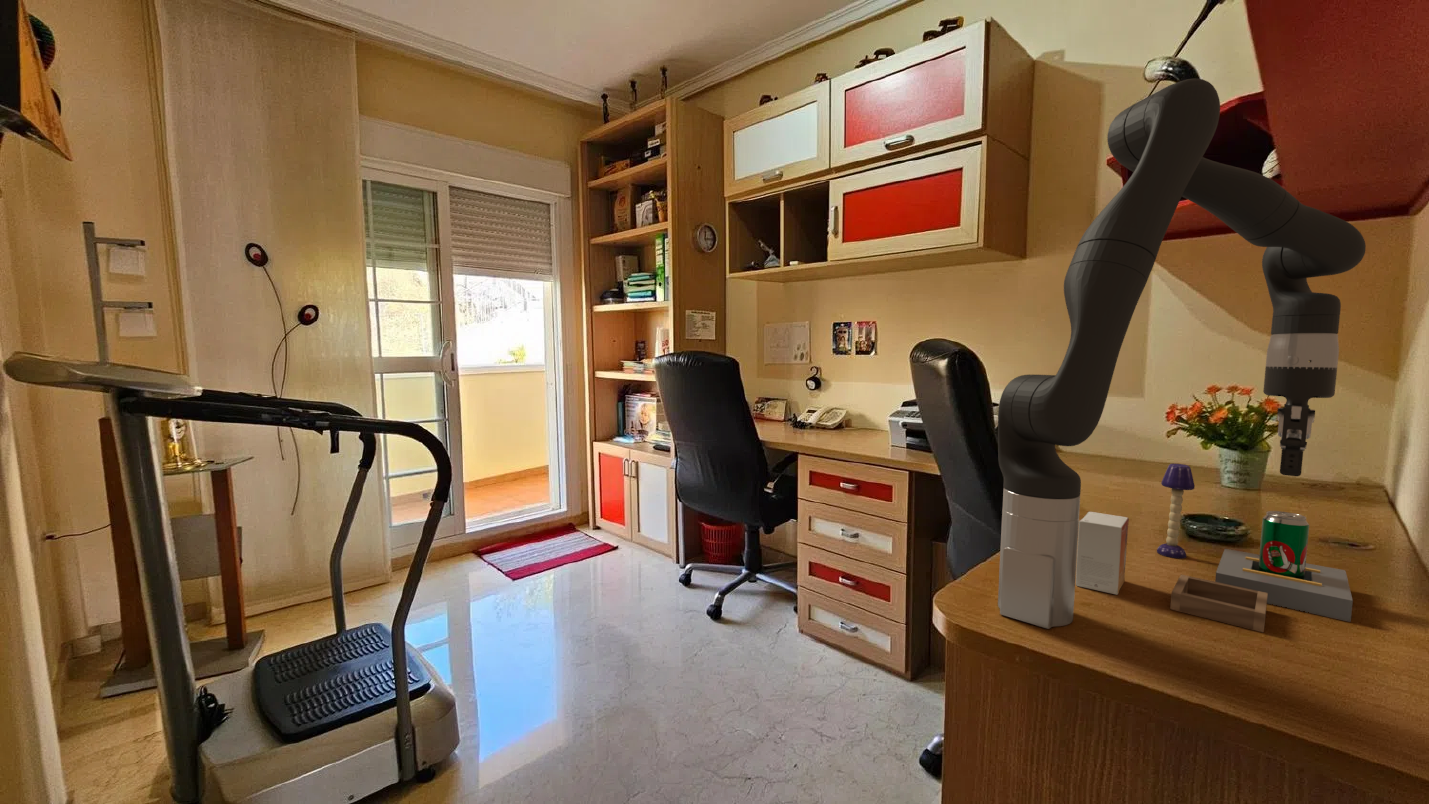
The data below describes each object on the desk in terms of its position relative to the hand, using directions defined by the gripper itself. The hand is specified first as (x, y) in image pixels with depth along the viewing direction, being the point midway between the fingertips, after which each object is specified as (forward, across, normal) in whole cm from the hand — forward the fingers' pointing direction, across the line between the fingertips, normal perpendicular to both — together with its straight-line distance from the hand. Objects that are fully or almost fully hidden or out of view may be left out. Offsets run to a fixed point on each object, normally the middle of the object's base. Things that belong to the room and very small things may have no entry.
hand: (1290, 471), depth 87 cm
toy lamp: (+19, +8, +14) cm, 25 cm away
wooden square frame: (+19, -16, +6) cm, 25 cm away
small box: (+19, -17, +20) cm, 32 cm away
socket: (+19, 0, 0) cm, 19 cm away
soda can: (+19, 0, 0) cm, 19 cm away
